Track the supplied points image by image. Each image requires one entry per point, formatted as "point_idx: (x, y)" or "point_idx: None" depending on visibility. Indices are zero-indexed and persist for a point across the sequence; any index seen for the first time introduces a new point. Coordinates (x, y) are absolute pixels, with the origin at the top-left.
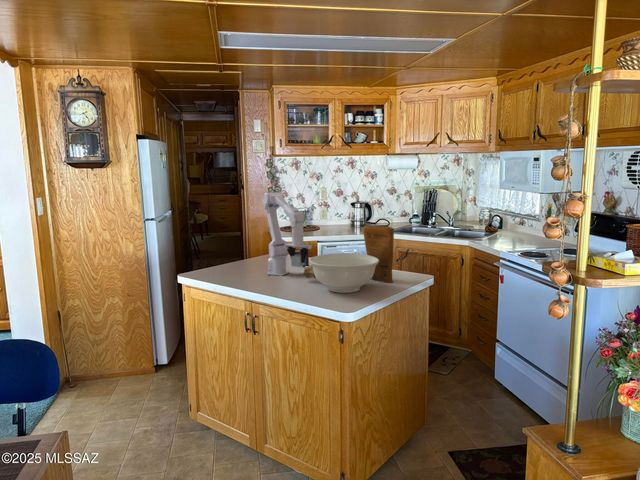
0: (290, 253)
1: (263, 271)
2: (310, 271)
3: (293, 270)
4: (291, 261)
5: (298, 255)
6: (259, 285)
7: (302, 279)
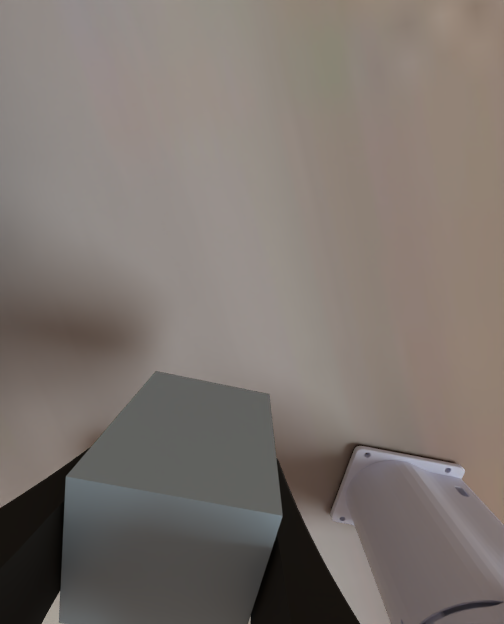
0: (320, 622)
1: None
2: None
3: None
4: (270, 432)
5: (159, 594)
6: (469, 154)
7: None
